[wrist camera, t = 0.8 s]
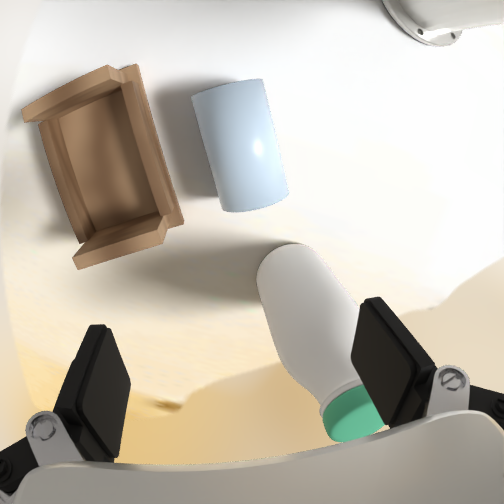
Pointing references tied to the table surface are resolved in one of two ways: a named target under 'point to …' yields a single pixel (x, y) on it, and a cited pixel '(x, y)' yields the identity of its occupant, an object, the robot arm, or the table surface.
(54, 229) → the table surface
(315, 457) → the robot arm
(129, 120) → the holder
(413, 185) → the table surface
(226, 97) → the cylinder
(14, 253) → the table surface
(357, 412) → the milk bottle
